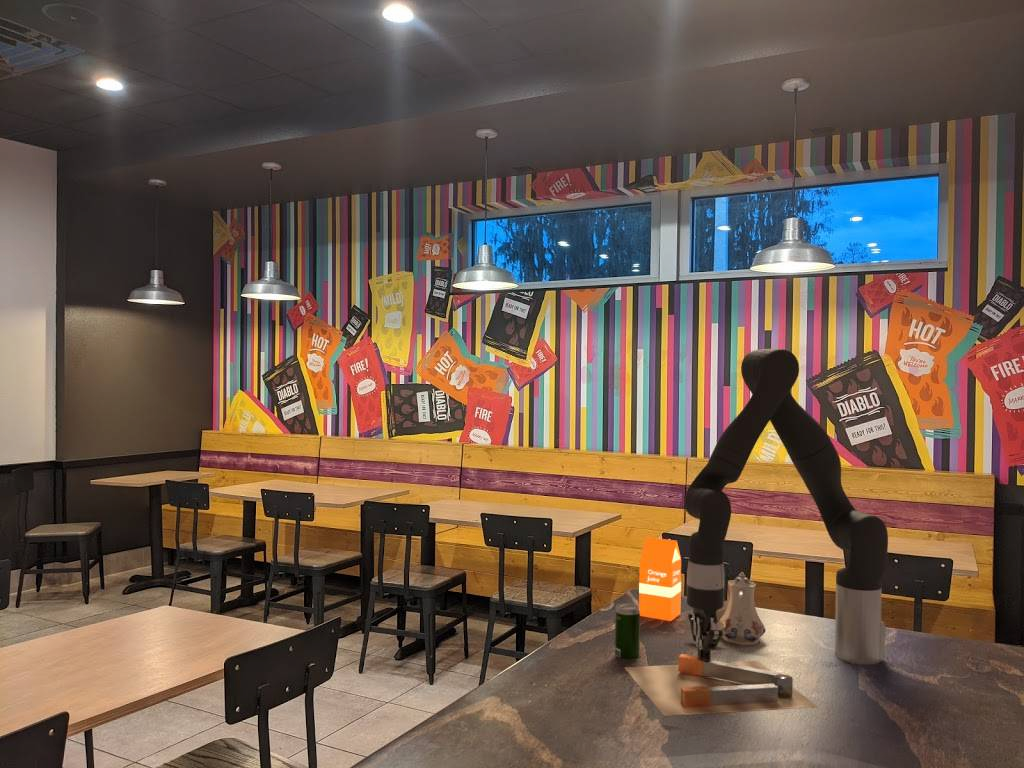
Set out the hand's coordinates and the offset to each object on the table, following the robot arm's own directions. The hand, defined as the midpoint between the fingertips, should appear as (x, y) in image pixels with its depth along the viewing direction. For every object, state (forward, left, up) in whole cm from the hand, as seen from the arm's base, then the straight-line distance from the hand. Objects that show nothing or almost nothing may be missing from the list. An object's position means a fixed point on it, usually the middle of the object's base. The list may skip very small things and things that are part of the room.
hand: (703, 666), depth 165 cm
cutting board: (+1, +8, -3) cm, 8 cm away
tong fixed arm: (+2, +16, -1) cm, 16 cm away
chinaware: (-16, -24, -3) cm, 29 cm away
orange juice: (-6, -44, -3) cm, 44 cm away
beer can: (+13, -12, -3) cm, 18 cm away
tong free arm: (-3, +8, -1) cm, 8 cm away
